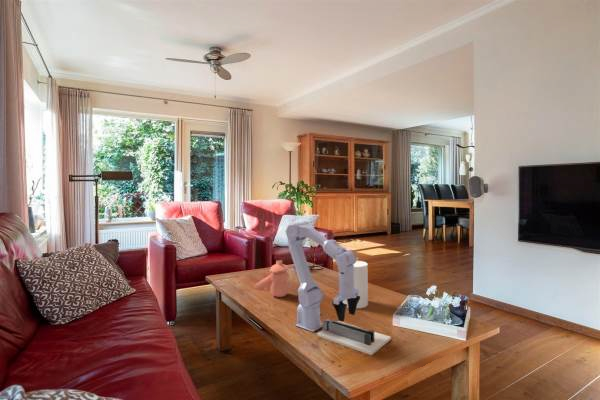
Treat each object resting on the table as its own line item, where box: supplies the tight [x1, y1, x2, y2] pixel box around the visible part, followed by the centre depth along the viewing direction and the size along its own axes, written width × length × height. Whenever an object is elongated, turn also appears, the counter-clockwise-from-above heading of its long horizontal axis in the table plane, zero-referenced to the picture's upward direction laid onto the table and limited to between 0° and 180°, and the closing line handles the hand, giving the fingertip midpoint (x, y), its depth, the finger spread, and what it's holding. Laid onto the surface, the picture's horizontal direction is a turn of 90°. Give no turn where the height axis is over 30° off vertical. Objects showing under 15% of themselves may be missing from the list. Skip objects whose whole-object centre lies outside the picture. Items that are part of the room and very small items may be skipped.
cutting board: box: [316, 320, 392, 356], centre depth 128 cm, size 24×15×1 cm, turn 50°
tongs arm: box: [331, 320, 375, 342], centre depth 128 cm, size 18×1×4 cm, turn 52°
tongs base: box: [322, 318, 371, 346], centre depth 128 cm, size 21×3×4 cm, turn 50°
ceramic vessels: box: [253, 260, 290, 298], centre depth 190 cm, size 35×21×19 cm, turn 18°
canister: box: [343, 260, 369, 309], centre depth 165 cm, size 14×14×20 cm
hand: (346, 317), depth 128 cm, fingers open, 7 cm apart
